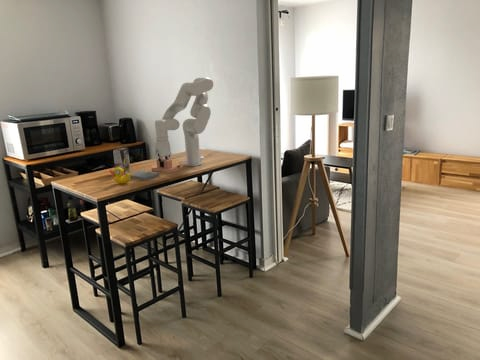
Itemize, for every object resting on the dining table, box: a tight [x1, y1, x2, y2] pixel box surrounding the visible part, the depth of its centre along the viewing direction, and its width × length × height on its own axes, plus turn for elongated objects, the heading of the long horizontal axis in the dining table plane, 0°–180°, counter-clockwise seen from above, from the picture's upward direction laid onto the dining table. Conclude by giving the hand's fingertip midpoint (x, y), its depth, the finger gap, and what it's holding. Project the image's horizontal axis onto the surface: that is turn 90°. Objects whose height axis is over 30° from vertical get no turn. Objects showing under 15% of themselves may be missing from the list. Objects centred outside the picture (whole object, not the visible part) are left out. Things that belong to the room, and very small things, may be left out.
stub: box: [151, 158, 179, 174], centre depth 260 cm, size 8×16×7 cm, turn 56°
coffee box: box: [112, 147, 131, 176], centre depth 256 cm, size 9×6×16 cm
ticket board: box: [129, 169, 160, 182], centre depth 246 cm, size 12×16×2 cm
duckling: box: [109, 167, 131, 185], centre depth 231 cm, size 11×5×10 cm, turn 96°
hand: (164, 166), depth 261 cm, fingers closed on stub, 4 cm apart
